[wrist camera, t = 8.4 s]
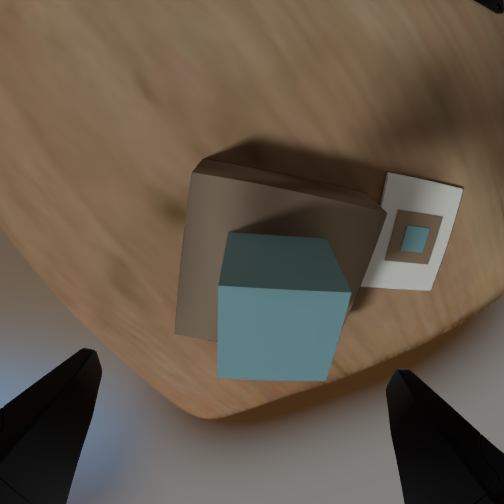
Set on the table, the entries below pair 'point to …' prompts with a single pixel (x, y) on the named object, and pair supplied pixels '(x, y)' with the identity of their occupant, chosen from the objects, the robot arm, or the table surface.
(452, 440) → the robot arm
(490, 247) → the table surface
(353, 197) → the walnut block
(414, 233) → the card
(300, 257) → the teal cube
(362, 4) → the table surface
